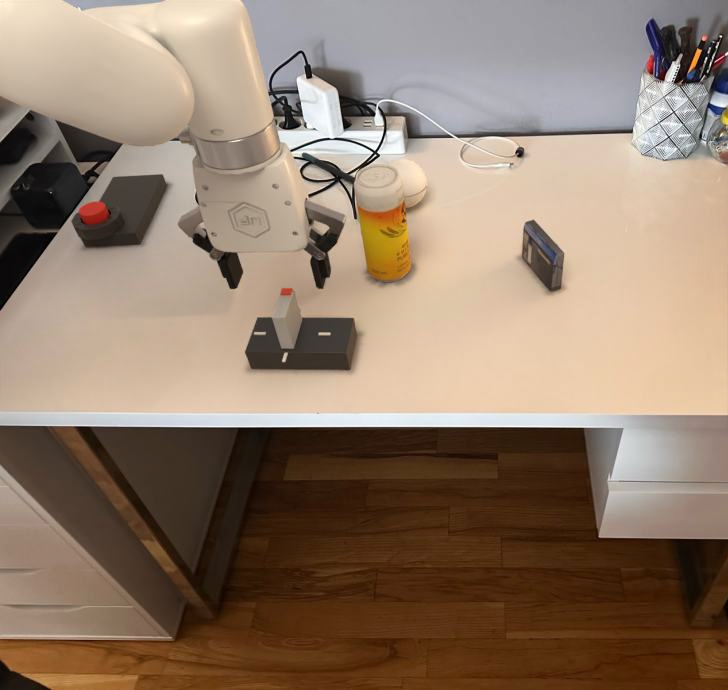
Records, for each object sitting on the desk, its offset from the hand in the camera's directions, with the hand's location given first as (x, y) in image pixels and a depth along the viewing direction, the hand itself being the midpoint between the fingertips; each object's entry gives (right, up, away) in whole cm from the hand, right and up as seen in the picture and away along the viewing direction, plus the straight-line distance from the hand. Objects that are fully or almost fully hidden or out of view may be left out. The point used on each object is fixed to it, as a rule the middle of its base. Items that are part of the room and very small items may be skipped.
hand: (279, 281), depth 75 cm
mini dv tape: (+31, +3, +17) cm, 36 cm away
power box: (-31, +13, +30) cm, 45 cm away
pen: (-1, +21, +37) cm, 43 cm away
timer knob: (0, -6, +6) cm, 8 cm away
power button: (-33, +11, +23) cm, 42 cm away
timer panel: (+1, -8, +8) cm, 11 cm away
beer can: (+10, +3, +18) cm, 21 cm away
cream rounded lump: (+12, +14, +29) cm, 34 cm away
